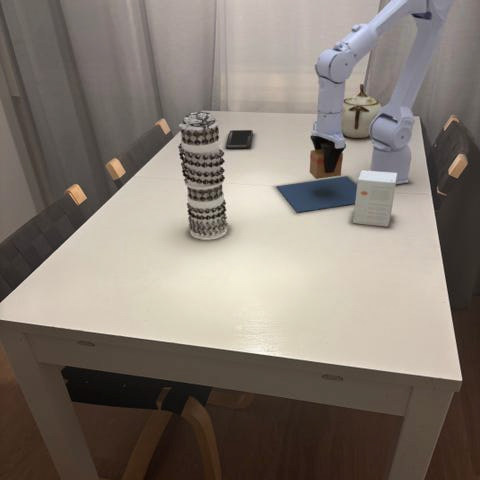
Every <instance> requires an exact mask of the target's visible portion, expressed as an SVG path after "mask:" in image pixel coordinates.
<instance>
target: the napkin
mask: <svg viewBox="0 0 480 480" xmlns="http://www.w3.org/2000/svg"><path fill="white" fill-rule="evenodd" d="M276 188H277V190H278V191H279V192H280V193H281V195H282V196H283V197H284V198H285V200H286V201H287V202H288V204H289V205H290V206H291V207H292V209H293V210H294V211H295V213H296V214H300V213H306V212H311V211H312V212H314V211H319V210H320V211H321V210H325V209H326V210H327V209H332V208H339V207H345V206H346V207H347V206H353V205H355V200H356V191H357V184H356V182H354V181H353V180H352V179H351V178H349V177H348V176H347V175H346V176H337V177H330V178H323V179H316V180H310V181H303V182H296V183H288V184H283V185H277V186H276Z"/></svg>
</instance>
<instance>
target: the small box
mask: <svg viewBox="0 0 480 480" xmlns="http://www.w3.org/2000/svg"><path fill="white" fill-rule="evenodd" d="M396 179H397V173H391V172H379V171H370V170H364V169H362V170H360V172H359V175H358V178H357V184H356V185H357V191H356V200H355V204H354V208H353V209H354V210H353V219H352V223H353V224H357V225H358V224H359V225H366V226H375V227H377V226H378V227H385V228H386V227H387V228H388V227H389V225H390V221H391V216H392V210H393V205H394V199H395V192H396V187H397V186H396V185H397V184H396Z"/></svg>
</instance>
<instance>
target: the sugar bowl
mask: <svg viewBox="0 0 480 480" xmlns="http://www.w3.org/2000/svg"><path fill="white" fill-rule="evenodd" d="M364 86H365V85H364V84H363V83H360V84H359V90H360V91H359V93H358V94H356V95H352V96H350V97H347V98H344V103H343V114H342V124H341V130H342V134H343V136H346V137H348V138H353V139H364V138H365V139H366V138H368V137H370V135H369V128H370V125H371V123H372V121H373V120H374V119H375V117H376V116H377V114H378V112H379V110H380V108H382V107H383V106H382V104H381V103H380V101H379V100H378V99H376V98H374V97H372V96H370V95H367V94H366V93H365V90H364V89H365V87H364Z"/></svg>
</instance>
